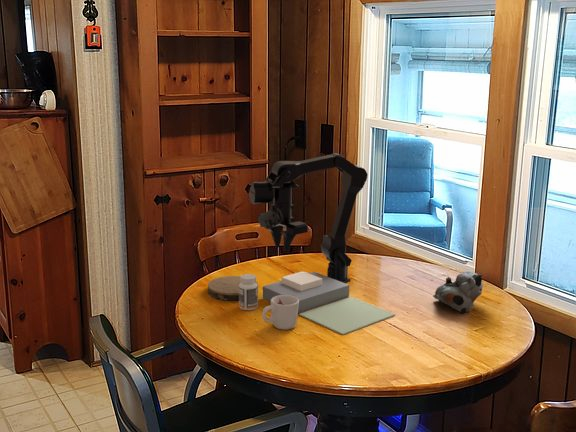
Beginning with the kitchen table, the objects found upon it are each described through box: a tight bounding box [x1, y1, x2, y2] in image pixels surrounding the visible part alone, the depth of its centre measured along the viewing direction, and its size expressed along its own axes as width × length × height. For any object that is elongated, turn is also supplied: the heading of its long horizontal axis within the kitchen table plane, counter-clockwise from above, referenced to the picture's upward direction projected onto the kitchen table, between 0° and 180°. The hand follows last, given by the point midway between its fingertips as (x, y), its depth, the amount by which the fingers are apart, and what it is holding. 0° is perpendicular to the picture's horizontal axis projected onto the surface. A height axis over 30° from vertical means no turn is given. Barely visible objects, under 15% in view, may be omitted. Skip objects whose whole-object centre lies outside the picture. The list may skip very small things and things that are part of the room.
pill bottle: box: [238, 273, 259, 311], centre depth 208 cm, size 6×6×10 cm
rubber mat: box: [299, 296, 396, 336], centre depth 205 cm, size 22×18×1 cm
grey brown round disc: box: [207, 275, 259, 303], centre depth 221 cm, size 16×16×3 cm
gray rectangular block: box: [262, 271, 350, 314], centre depth 217 cm, size 22×16×4 cm
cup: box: [261, 295, 299, 331], centre depth 194 cm, size 11×8×8 cm
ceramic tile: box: [281, 270, 322, 291], centre depth 218 cm, size 9×9×2 cm
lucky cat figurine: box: [432, 270, 484, 314], centre depth 211 cm, size 15×12×14 cm
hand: (281, 249), depth 223 cm, fingers open, 4 cm apart
